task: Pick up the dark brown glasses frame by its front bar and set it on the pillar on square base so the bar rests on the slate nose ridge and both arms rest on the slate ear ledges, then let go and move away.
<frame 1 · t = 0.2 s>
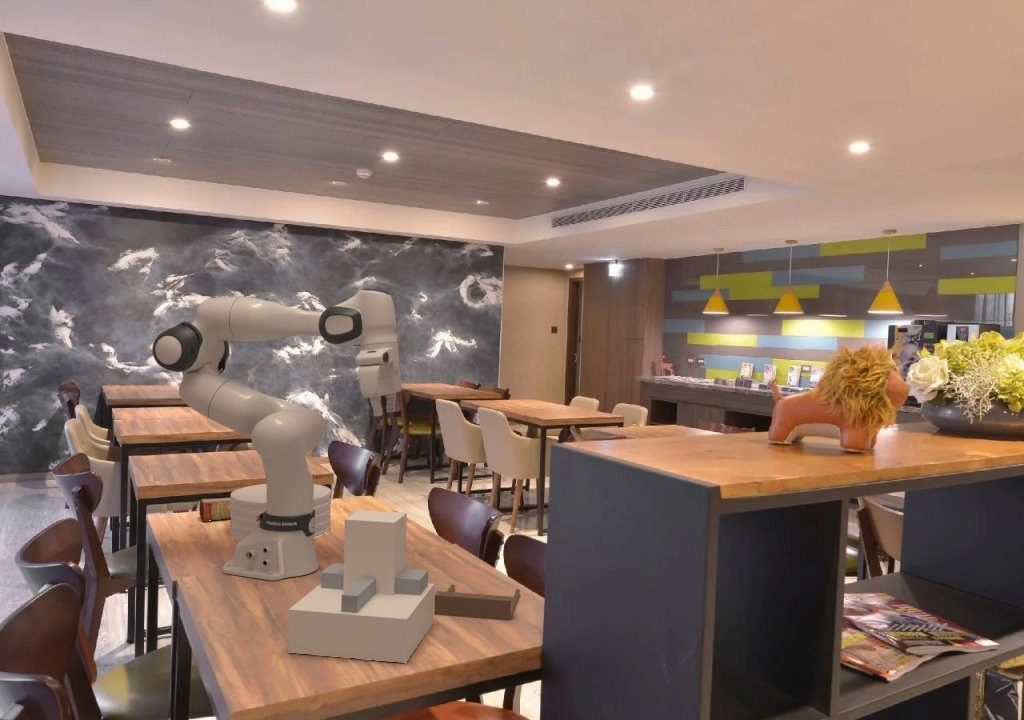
hand: (384, 414, 175), 39 cm above the table, tool pointing down, fingers open, 8 cm apart
plate stack: (281, 531, 215), on the table
pillar on square base: (363, 638, 139), on the table
glasses frame: (473, 614, 152), on the table
snack package: (236, 518, 228), on the table
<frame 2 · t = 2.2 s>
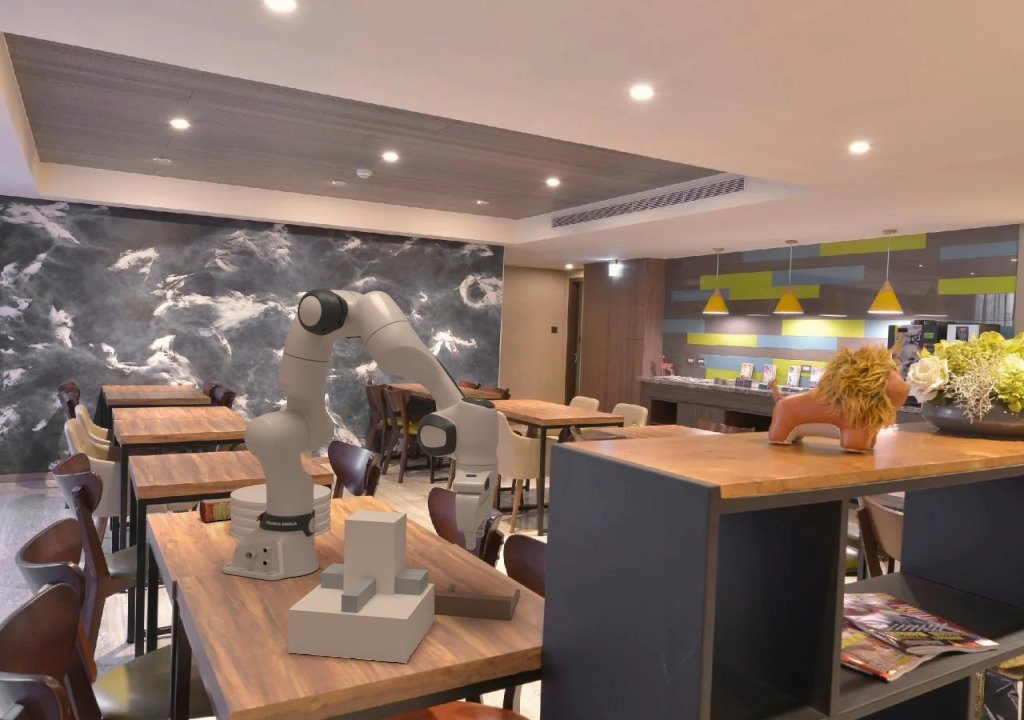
hand: (475, 542, 152), 15 cm above the table, tool pointing down, fingers open, 8 cm apart
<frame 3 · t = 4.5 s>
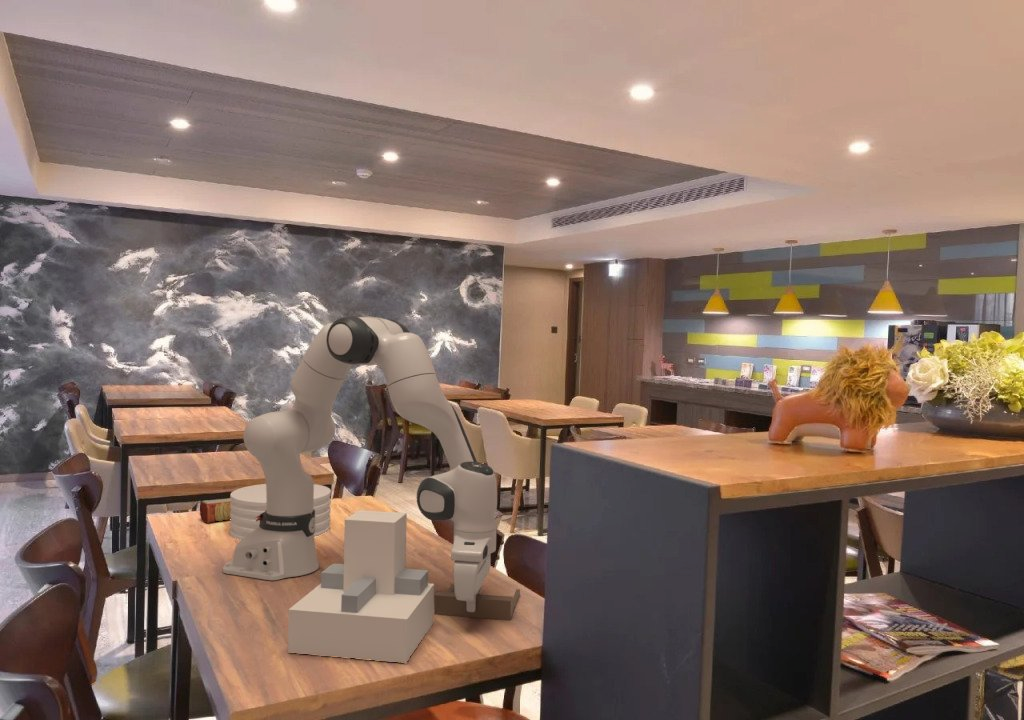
hand: (473, 607, 152), 2 cm above the table, tool pointing down, fingers closed on glasses frame, 3 cm apart
glasses frame: (473, 614, 152), on the table, touching gripper
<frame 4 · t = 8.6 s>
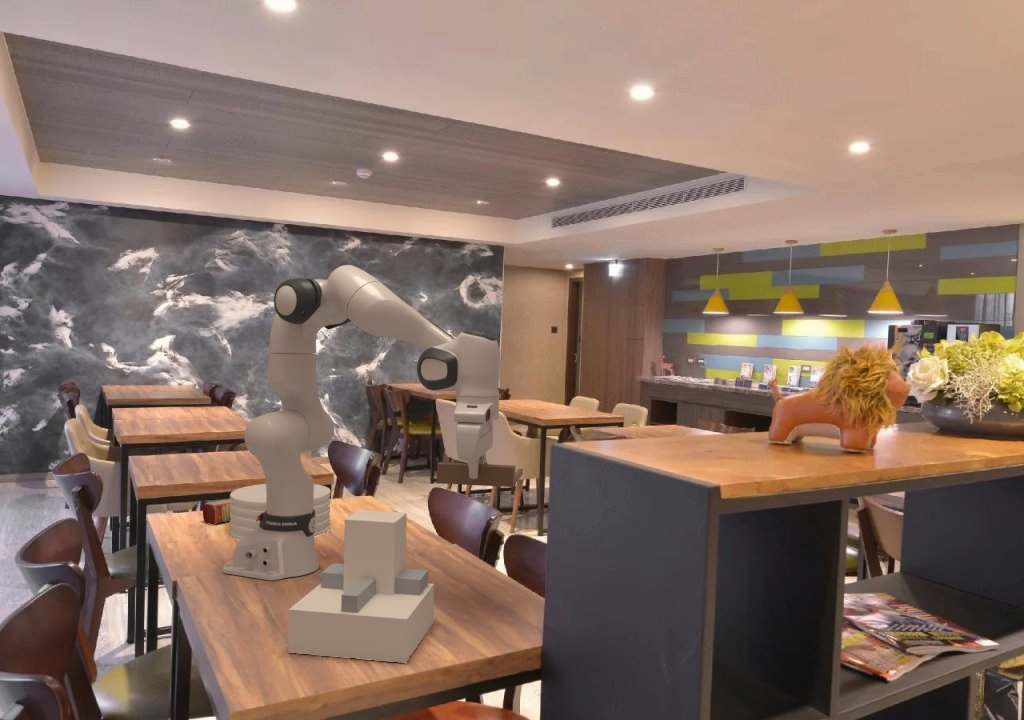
hand: (475, 476, 151), 29 cm above the table, tool pointing down, fingers closed on glasses frame, 3 cm apart
glasses frame: (476, 484, 152), point 27 cm above the table, touching gripper
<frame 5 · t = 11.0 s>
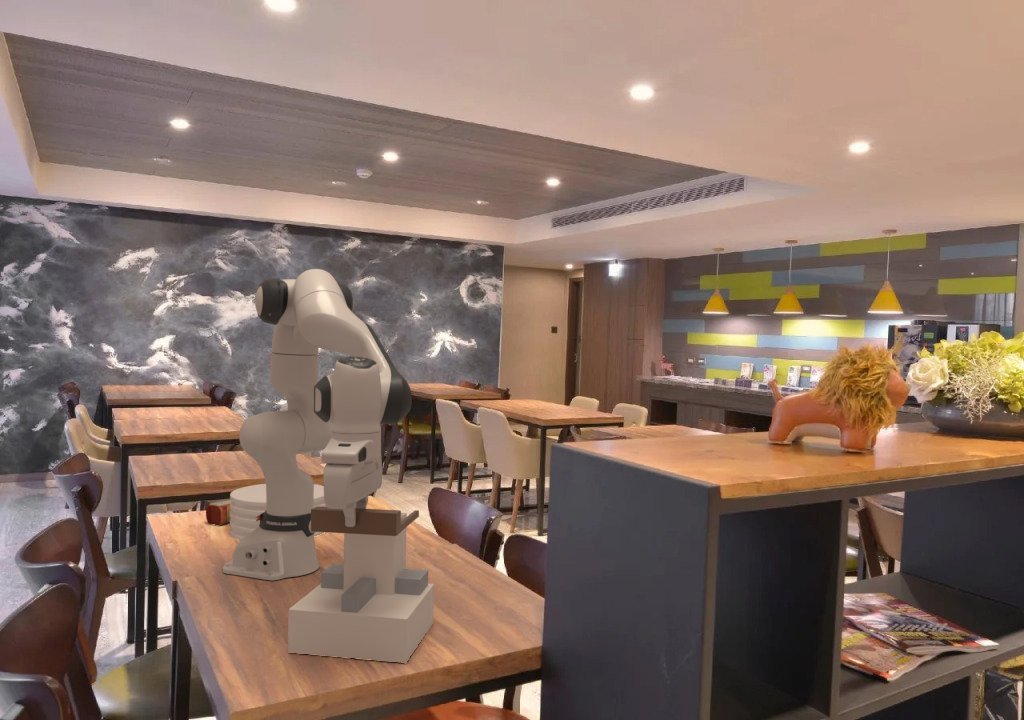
hand: (355, 523, 132), 24 cm above the table, tool pointing down, fingers closed on glasses frame, 3 cm apart
glasses frame: (355, 531, 133), point 22 cm above the table, touching gripper
when the fingers open (14 cm above the table, at t = 13.0 s): glasses frame drops 1 cm, resting on pillar on square base.
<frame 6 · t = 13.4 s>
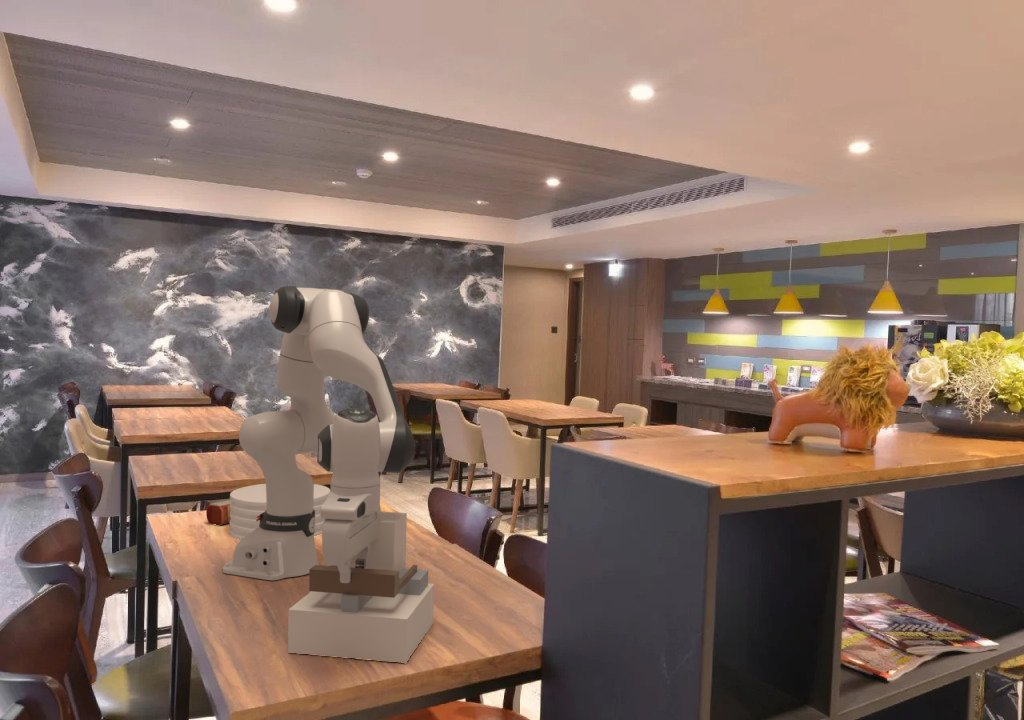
hand: (353, 575, 133), 14 cm above the table, tool pointing down, fingers open, 6 cm apart
glasses frame: (353, 591, 133), point 11 cm above the table, touching pillar on square base
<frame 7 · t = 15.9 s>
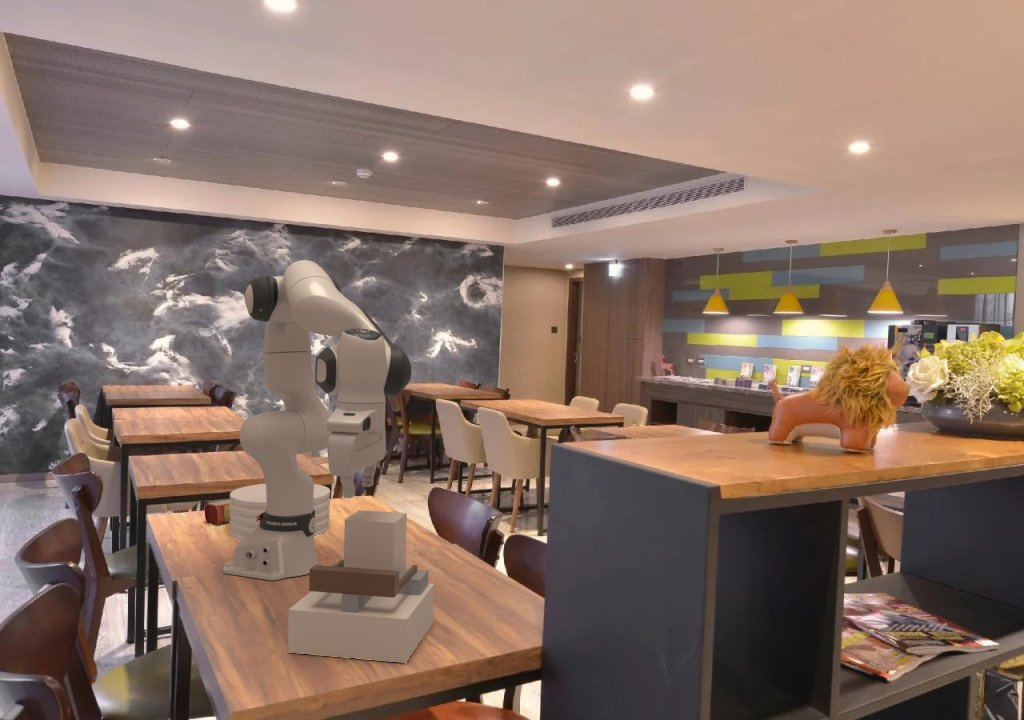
hand: (358, 491, 135), 29 cm above the table, tool pointing down, fingers open, 8 cm apart
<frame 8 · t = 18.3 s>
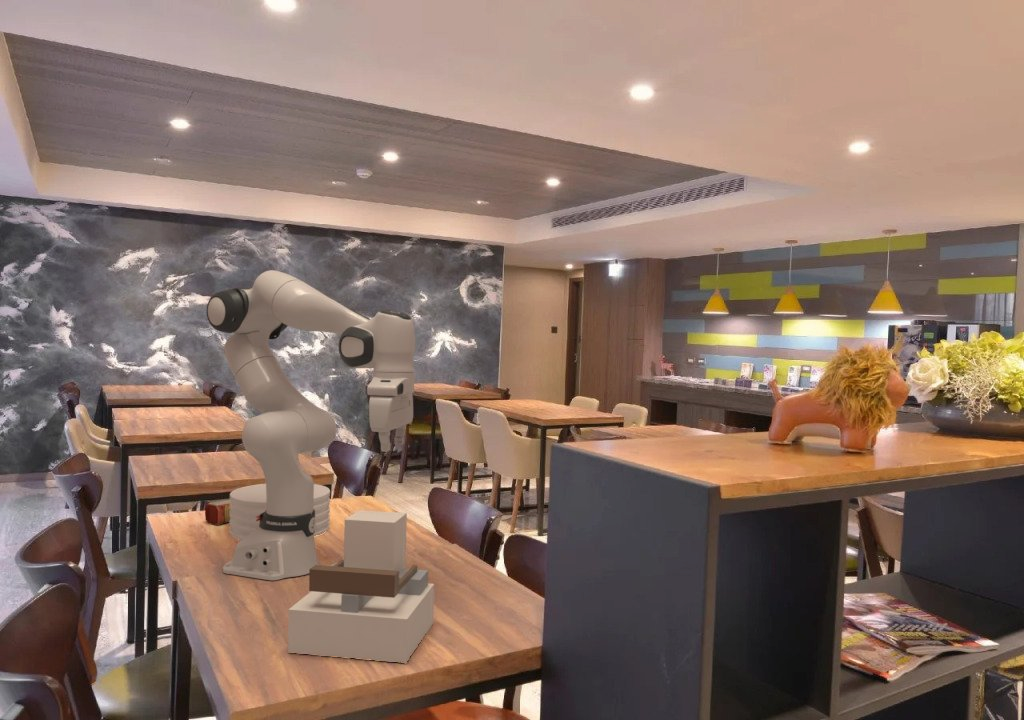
hand: (392, 448, 160), 33 cm above the table, tool pointing down, fingers open, 8 cm apart
at the end: glasses frame 0.1 cm from the target spot on the pillar on square base, point 11.0 cm above the pillar on square base's base; glasses frame tilted 0°; the gripper is holding nothing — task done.
